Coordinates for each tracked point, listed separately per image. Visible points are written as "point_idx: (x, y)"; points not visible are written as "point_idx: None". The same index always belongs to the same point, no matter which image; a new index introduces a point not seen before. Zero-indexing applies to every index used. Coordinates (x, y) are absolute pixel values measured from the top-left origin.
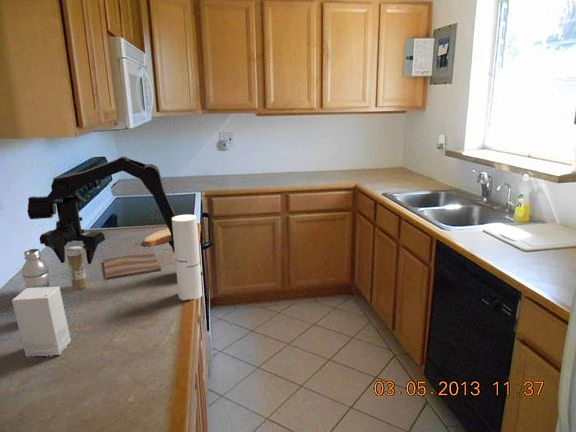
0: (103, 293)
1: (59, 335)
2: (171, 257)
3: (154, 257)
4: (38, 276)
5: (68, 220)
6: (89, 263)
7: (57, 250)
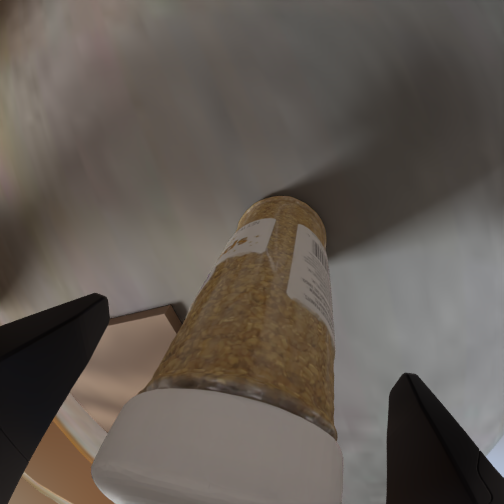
0: (111, 139)
1: None
2: (71, 409)
3: (97, 420)
4: None
5: None
6: (89, 295)
7: (470, 500)
